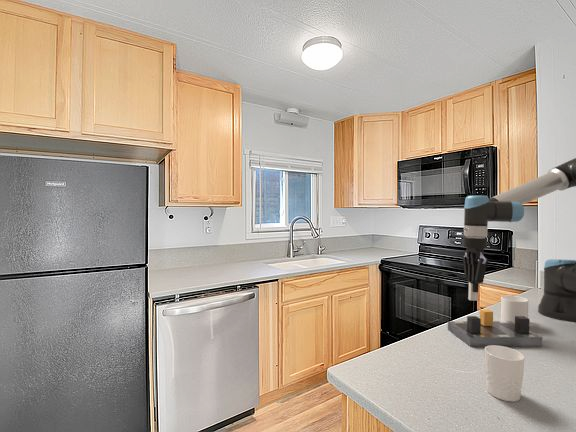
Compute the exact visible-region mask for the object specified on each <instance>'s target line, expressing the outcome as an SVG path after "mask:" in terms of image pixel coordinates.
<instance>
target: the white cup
mask: <svg viewBox="0 0 576 432" xmlns="http://www.w3.org/2000/svg"><path fill="white" fill-rule="evenodd" d="M525 360H526V359H525V355H524V354H523V353H522V352H520V351H519V350H516V349H514V348H512V347H511V348H510V347H504V346H497V345H490V346H486V347H484V371H485V382H486V383H485V386H486V387H485V388H486V391H487V392H488V393H489V395H491V396H492V397H494V398H497V399H499V400H502V401H505V402H510V403H511V402H514V403H515V402H518V401H520V400H521V396H522V387H523V380H524V369H525V368H524V367H525Z"/></svg>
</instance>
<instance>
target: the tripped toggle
mask: <svg viewBox="0 0 576 432" xmlns="http://www.w3.org/2000/svg"><path fill="white" fill-rule="evenodd" d="M479 318H480V319H481V324H482V325H483V326H493V321H494V311H493V310H491V309H487V308H485V309H483V308H482V309H479Z"/></svg>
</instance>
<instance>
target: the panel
mask: <svg viewBox="0 0 576 432" xmlns="http://www.w3.org/2000/svg"><path fill="white" fill-rule="evenodd" d="M530 321H531V320H530V318H529V317H528V318H527V317H525V316H515V323H513V322H511V321H501V320H499V321H497V320H496V321H495V320H493V326H483V325H482V324H481V319H480V317H479V316H476V315H473V316H471V315H469V316H468V315H467V316H466V321H463V320H461V321H460V320H457V321H456V320H454V321H453V320H452V321H451V320H450V321H448V320H447V331H448V332H451V334H453V335H454V336H455V337H457V338H458V339H459V340H461V341H462V342H463V343H465V344H466V345H467V346H468V347H469V348H473V347H476V348H485V347H486V346H490V345H497V346H504V347H508V348H510V347H511V348H512V347H513V348H514V347H515V348H517V347H518V348H520V347H521V348H523V347H525V348H528V347H531V348H532V347H533V348H534V347H535V348H537V347H541V348H542V347H543V337H542V336H540V335H538V334H537V333H534V332H532V331H531V330H530Z"/></svg>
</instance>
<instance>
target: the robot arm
mask: <svg viewBox="0 0 576 432" xmlns="http://www.w3.org/2000/svg"><path fill="white" fill-rule="evenodd" d="M573 187H576V157H574V158H572V159H570V160H568V161H566V162H563V163H562V164H559V165H557V166H554V167H552V168H550V169H549V170H547V172H546V173H545V174H543V175H540V176H538V177H536V178H534V179H532V180H528V181H526V182H524V183H522V184H520V185H518V186H515V187H513V188H510V189H508V190H506V191H503V192H501V193H499V194H497V195H495V196H492V197H490V198H489V196H488V195H467V196H466V197H465V200H464V206H463V208H464V216H463V217H464V223H463V225H464V226H463V227H464V228H463V236H464V237H463V243H462V244H463V247H464V248H466V249H465V252H464V253H461V256H462V262H463V263H462V264H463V270H464V279H466V280H467V282H468V295H467V296H468V297H467V299H468V300H469V301H479V285H480V284H483V283H484V280H485V279H484V278H485V276H486V275H485V274H486V269H487V264H488V263H489V261H490V260H489V258H486V257H485V256H484V255H485V252H484V249H487V247H488V239H487V237H488V224H489V222H501V223H502V222H503V223H508V222H509V223H513V222H514V223H515V222H516V223H517V222H520V221H522V220H523V218H524V216H525V207H524V206H523V205H525V204H527V203H530V202H533V201H534V200H537V199H540V198H542V197H545V196H547V195H548V194H551V193H553V192H556V191H565V190H567V189H570V188H573ZM543 267H544V268H543V295H542V298H541V300H540V302H539V304H538V307H537V312H538V313H539V314H540V315H543V316H546V317H549V318H553V319H556V320H562V321H567V322H576V259H554V258H553V259H546V260H545V262H544V265H543Z"/></svg>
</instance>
